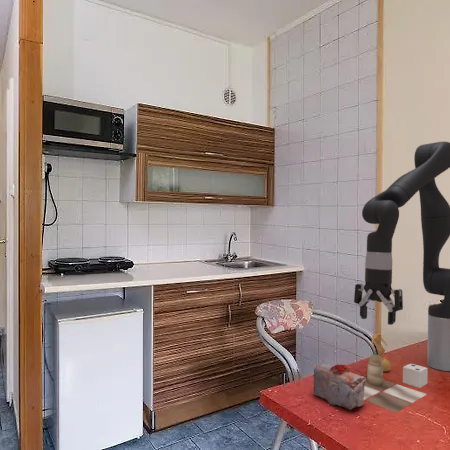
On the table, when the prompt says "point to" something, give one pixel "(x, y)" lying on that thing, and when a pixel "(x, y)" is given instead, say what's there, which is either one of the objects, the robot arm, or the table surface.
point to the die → (415, 375)
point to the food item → (339, 385)
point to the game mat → (388, 400)
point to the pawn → (375, 370)
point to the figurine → (377, 340)
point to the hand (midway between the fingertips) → (376, 321)
